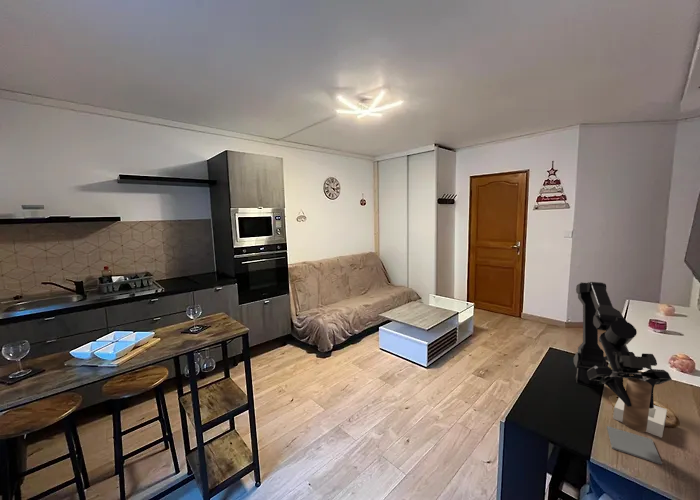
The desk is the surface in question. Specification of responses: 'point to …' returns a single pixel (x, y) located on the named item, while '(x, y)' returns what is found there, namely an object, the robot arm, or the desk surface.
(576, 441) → the desk surface
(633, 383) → the peg
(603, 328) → the robot arm
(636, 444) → the pad
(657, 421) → the frame
